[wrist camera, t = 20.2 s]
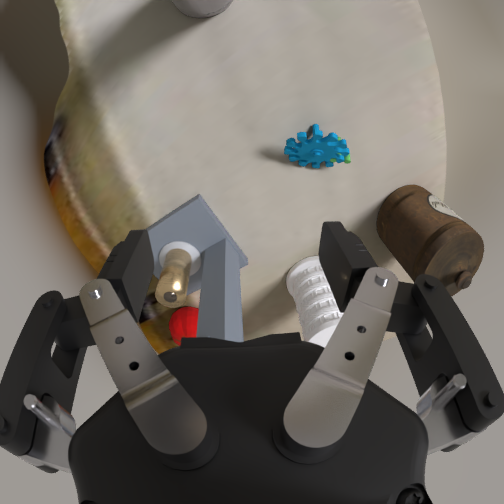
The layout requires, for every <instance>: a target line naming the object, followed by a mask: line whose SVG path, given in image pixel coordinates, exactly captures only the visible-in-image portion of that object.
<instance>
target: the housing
mask: <svg viewBox="0 0 504 504" xmlns="http://www.w3.org/2000/svg"><path fill="white" fill-rule="evenodd" d="M191 264H192V258H191V255H190V254H189V253H188V252H187V251H185V250H183V249H179V248H176V249H172V250H170V251H169V252H168V253H167V254H166V257H165V261H164V264H163V267H162V271H161V274H160V278H159V281H158V285H157V288H156V292H155V297H156V299H157V301H158V302H159V303H160V304H162V305H164V306H166V307H170V308H176V307H180V306H182V305H183V304H184V303H185V300H186V294H187V288H188V282H189V276H190V270H191Z"/></svg>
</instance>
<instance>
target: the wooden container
mask: <svg viewBox="0 0 504 504" xmlns="http://www.w3.org/2000/svg"><path fill="white" fill-rule="evenodd" d="M377 231H378V234H379V237H380V238H381V240H382V241H383V243H384V244H385V245H386V246H387V248H388V249H389V250H390V252H391V253H392V254H393V256H394V257H395V258H396V260H397V261H398V262H399V263H400V265H401V266H402V267H403V268H404V270H405V271H406V272H407V273H408V275H409V276H410V277H411V279H412V280H413V281H414V282H415V280H416V278H417V276H419V275H421V274H428V275H431V276H434V277H436V278H437V279H438V280H440V281H441V282H442V284H443V285H444V287H445V288H446V290H447V291H448V293H449V294H450V296H453V295H455V294H456V293H458V292H459V291H460V290H461V289H465V288H467V287H469V285H470V284H471V280H472V278H473V276H474V275H475V273H476V272H477V270H478V268H479V266H480V264H481V261H482V258H483V252H484V244H483V240H482V238H481V236H480V235H479V234H478V233H477V232H476V231H475V230H474V229H473V228H472V227H471V226H469V225H468V224H467V223H466V222H465V221H463V219H461V218H460V217H459V216H458V215H457V214H456V213H455V212H454V211H452V210H451V209H450V208H449V207H448V206H447V205H445V204H444V203H443V202H442V201H441V200H439V199H438V198H437V197H435V196H434V195H432V194H431V193H430V192H428V191H427V190H426V189H424V188H423V187H421V186H417V185H407V186H403V187H401V188H399V189H397V190H396V191H394V192H393V193H392V194H391V195H390V196H389V197H388V198H387V199H386V200H385V202H384V203H383V205H382V207H381V209H380V211H379V214H378V218H377Z"/></svg>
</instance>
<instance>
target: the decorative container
mask: <svg viewBox="0 0 504 504" xmlns="http://www.w3.org/2000/svg"><path fill="white" fill-rule="evenodd" d="M286 284H287V289H288V291H289V293H290V294H291V295H292V296H293V298H294V300H295V302H296V309H297V313H298V314H299V321H300V324H301V326H302V334H303V337H304V341H307V342H311V343H314V344H317V345H320V346H322V347H324V348H325V347H326V345H327V343H328V341H329V340H330V338H331V336H332V334H333V332H334V331H335V329H336V327H337V325H338V323H339V321H340V319H341V317H342V316H343V314H344V313H340V311H339V309H338V306H337V303H336V301H335V298H334V296H333V293H332V291H331V289H330V286H329V284H328V281H327V279H326V276H325V274H324V272H323V269H322V267H321V264H320V261H319V256H311V257H307V258H305V259H302V260H300V261H299V262H297V263H296V264H295V265H294V266H293V267H292V268H291V269H290V271H289V272H288V274H287V278H286Z"/></svg>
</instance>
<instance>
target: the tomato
mask: <svg viewBox="0 0 504 504" xmlns="http://www.w3.org/2000/svg"><path fill="white" fill-rule="evenodd" d="M198 312H199V309H198V308H194V307H182V308H180V309H178V310H177V311H175V312H174V313H173V314H172V317H171V319H170V322H169V330H170V331H171V336H172V338H173V340H174V342H175V343H176V344H178V345H179V346H180V344H181V337H196V334H197V323H198Z"/></svg>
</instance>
